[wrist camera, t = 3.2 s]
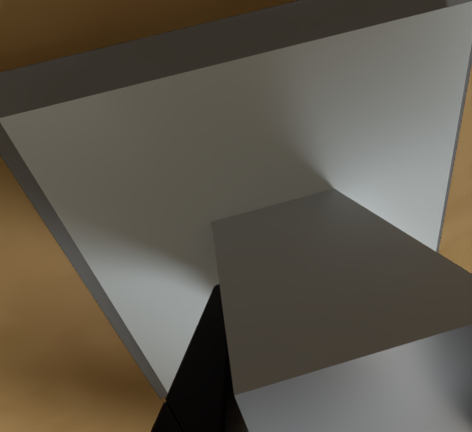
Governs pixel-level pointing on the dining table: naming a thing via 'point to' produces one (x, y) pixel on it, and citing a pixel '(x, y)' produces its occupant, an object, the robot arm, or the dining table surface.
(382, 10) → the mat
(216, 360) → the robot arm
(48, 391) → the dining table surface
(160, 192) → the lid
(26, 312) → the dining table surface
